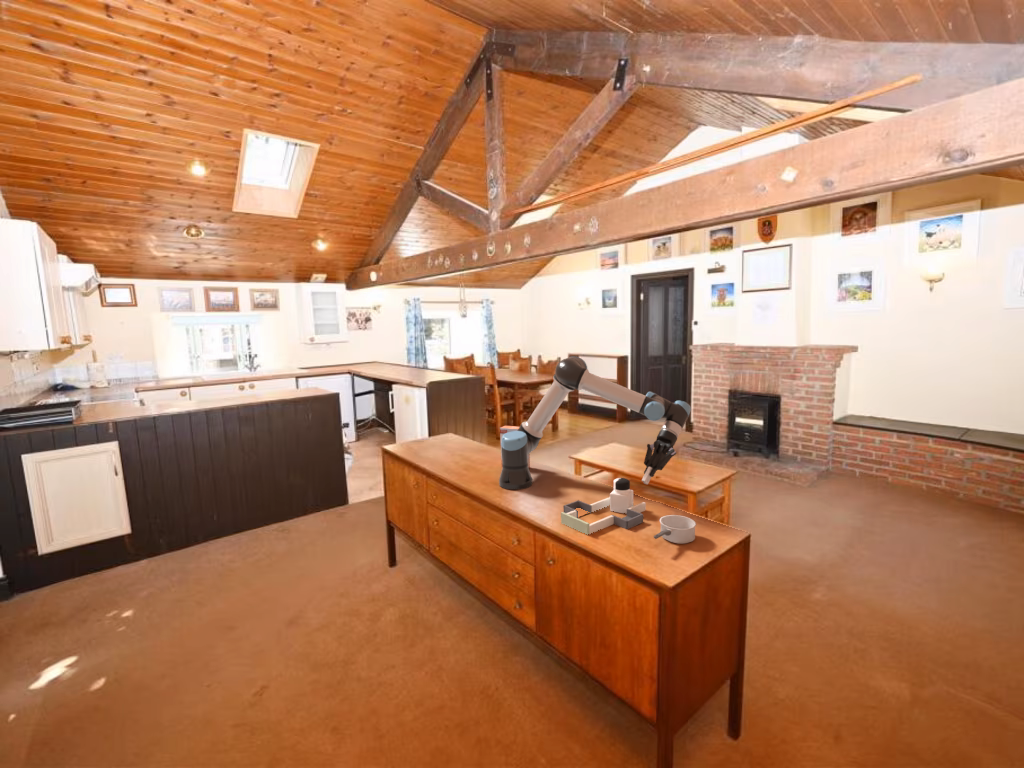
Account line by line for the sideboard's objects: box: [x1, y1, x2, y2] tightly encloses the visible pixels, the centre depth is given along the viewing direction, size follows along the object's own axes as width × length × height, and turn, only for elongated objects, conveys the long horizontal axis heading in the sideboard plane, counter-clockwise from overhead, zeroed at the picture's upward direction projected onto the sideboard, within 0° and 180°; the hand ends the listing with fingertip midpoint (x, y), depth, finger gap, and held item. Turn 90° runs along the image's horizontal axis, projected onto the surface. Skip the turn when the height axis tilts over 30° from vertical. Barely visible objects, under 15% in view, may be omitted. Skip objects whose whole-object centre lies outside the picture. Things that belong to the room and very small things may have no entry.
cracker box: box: [499, 425, 531, 469], centre depth 234 cm, size 14×6×21 cm, turn 60°
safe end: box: [560, 511, 590, 536], centre depth 161 cm, size 1×13×4 cm, turn 37°
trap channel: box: [562, 496, 647, 535], centre depth 171 cm, size 31×25×3 cm
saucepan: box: [653, 514, 697, 545], centre depth 149 cm, size 12×20×6 cm, turn 133°
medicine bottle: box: [609, 477, 634, 515], centre depth 176 cm, size 7×7×12 cm
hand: (644, 482), depth 183 cm, fingers closed
